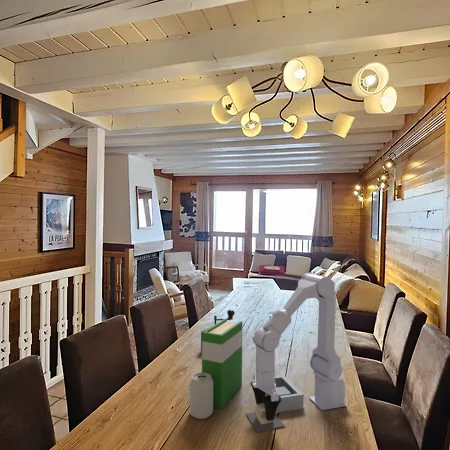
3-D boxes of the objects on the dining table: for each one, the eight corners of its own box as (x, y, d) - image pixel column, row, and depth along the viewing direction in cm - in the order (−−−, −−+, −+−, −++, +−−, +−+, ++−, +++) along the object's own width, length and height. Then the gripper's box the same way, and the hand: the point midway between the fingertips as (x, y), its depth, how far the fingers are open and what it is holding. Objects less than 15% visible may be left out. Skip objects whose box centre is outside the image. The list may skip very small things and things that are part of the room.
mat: (272, 410, 107) (272, 409, 107) (284, 427, 98) (284, 425, 98) (246, 414, 104) (246, 413, 104) (256, 432, 96) (256, 430, 96)
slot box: (284, 388, 122) (284, 375, 122) (303, 408, 109) (303, 394, 109) (258, 391, 119) (259, 378, 119) (275, 412, 106) (275, 398, 106)
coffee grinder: (220, 356, 151) (220, 316, 151) (200, 351, 157) (200, 313, 157) (236, 345, 164) (236, 309, 164) (217, 341, 170) (217, 306, 170)
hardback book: (223, 381, 127) (224, 318, 127) (241, 385, 124) (242, 321, 124) (201, 403, 111) (202, 332, 111) (221, 408, 108) (222, 335, 108)
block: (268, 414, 104) (268, 402, 104) (273, 422, 100) (273, 409, 100) (256, 416, 103) (256, 404, 103) (261, 424, 99) (261, 411, 99)
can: (213, 407, 109) (213, 370, 109) (213, 420, 101) (213, 381, 101) (190, 407, 109) (190, 370, 109) (188, 420, 101) (188, 381, 101)
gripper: (245, 360, 107) (244, 402, 107) (262, 380, 93) (262, 428, 93) (265, 358, 109) (264, 399, 109) (285, 377, 95) (284, 424, 95)
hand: (265, 412), depth 101 cm, fingers open, 7 cm apart
